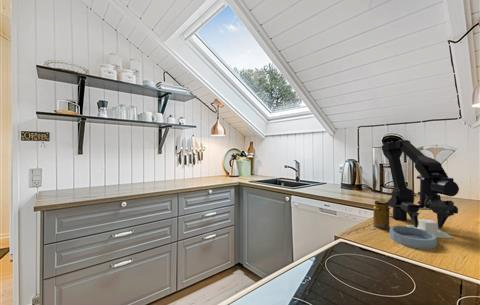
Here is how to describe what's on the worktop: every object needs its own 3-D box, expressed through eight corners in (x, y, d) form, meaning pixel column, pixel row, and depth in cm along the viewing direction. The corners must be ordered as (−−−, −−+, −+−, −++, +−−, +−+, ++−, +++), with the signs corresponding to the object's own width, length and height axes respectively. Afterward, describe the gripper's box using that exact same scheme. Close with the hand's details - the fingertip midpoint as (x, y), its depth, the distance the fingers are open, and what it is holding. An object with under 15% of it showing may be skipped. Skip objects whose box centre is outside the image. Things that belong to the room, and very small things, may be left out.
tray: (406, 227, 102) (406, 225, 101) (430, 228, 100) (430, 225, 100) (424, 238, 90) (424, 235, 90) (452, 239, 88) (452, 236, 88)
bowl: (382, 233, 94) (383, 225, 94) (419, 235, 93) (419, 226, 92) (402, 249, 80) (402, 239, 80) (446, 251, 79) (446, 241, 79)
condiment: (374, 224, 105) (374, 198, 105) (396, 228, 100) (396, 201, 99) (370, 228, 100) (370, 201, 100) (393, 233, 94) (393, 205, 94)
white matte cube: (418, 229, 97) (418, 219, 97) (429, 229, 97) (430, 219, 97) (425, 233, 93) (425, 222, 93) (437, 234, 92) (437, 223, 92)
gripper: (416, 194, 88) (415, 234, 88) (470, 195, 85) (469, 236, 86) (400, 189, 99) (399, 224, 99) (447, 190, 96) (446, 226, 97)
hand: (427, 227), depth 95 cm, fingers open, 9 cm apart
